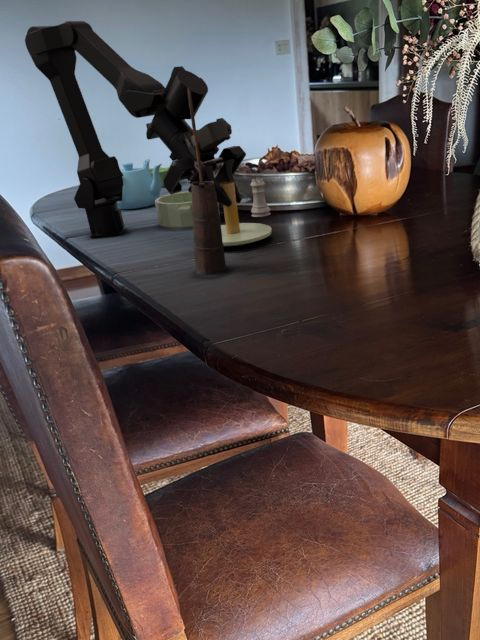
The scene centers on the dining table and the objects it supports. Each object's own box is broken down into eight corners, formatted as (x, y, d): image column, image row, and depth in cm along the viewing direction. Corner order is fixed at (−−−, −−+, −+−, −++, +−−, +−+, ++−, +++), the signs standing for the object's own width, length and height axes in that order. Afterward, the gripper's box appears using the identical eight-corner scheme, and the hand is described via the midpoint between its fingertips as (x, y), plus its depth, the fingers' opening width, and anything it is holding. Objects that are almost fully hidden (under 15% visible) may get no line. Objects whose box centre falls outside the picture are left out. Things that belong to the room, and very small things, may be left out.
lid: (194, 252, 117) (184, 193, 112) (198, 233, 130) (189, 179, 125) (274, 244, 118) (268, 185, 113) (270, 226, 131) (264, 172, 126)
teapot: (112, 214, 160) (102, 170, 154) (102, 204, 171) (92, 163, 166) (170, 205, 165) (162, 162, 159) (156, 196, 176) (148, 156, 171)
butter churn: (232, 283, 104) (204, 88, 90) (176, 284, 106) (140, 93, 92) (246, 266, 112) (223, 84, 98) (194, 267, 114) (163, 89, 99)
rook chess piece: (268, 219, 143) (264, 181, 138) (248, 219, 143) (244, 181, 139) (273, 214, 146) (269, 177, 142) (254, 214, 147) (250, 177, 143)
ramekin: (143, 185, 195) (140, 169, 193) (173, 181, 197) (170, 166, 195) (145, 189, 187) (142, 173, 185) (176, 185, 189) (173, 169, 187)
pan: (155, 235, 137) (150, 208, 134) (163, 216, 153) (159, 192, 150) (219, 228, 138) (216, 202, 135) (220, 210, 154) (217, 186, 151)
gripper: (162, 110, 107) (223, 181, 108) (231, 98, 121) (285, 162, 121) (138, 159, 115) (195, 226, 115) (205, 144, 129) (256, 204, 129)
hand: (235, 203), depth 120 cm, fingers closed on lid, 2 cm apart
